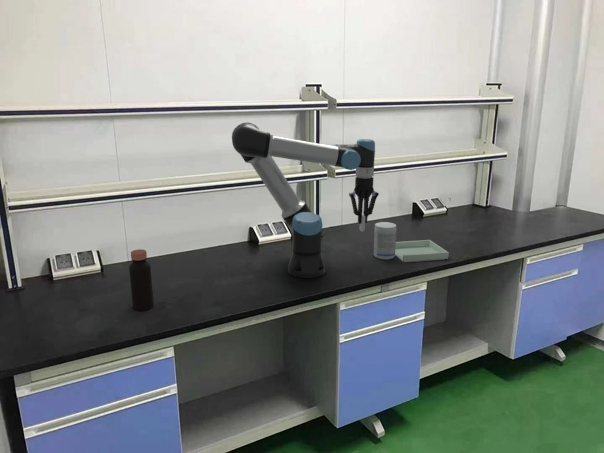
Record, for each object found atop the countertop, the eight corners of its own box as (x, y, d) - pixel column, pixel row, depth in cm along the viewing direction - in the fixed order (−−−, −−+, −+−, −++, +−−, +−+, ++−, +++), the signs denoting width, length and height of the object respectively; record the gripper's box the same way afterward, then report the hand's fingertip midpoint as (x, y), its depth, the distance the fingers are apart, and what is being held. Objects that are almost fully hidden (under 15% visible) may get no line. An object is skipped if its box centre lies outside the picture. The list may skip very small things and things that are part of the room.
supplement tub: (399, 257, 217) (401, 225, 213) (383, 261, 212) (385, 229, 208) (384, 251, 225) (386, 220, 221) (368, 255, 220) (370, 223, 216)
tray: (403, 262, 211) (404, 255, 210) (387, 248, 228) (388, 242, 227) (448, 259, 216) (448, 252, 215) (429, 246, 233) (429, 239, 232)
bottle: (151, 311, 164) (146, 255, 158) (130, 311, 164) (125, 255, 158) (155, 302, 171) (151, 248, 165) (135, 302, 170) (130, 248, 164)
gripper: (352, 178, 201) (350, 233, 208) (382, 177, 204) (379, 232, 210) (346, 175, 208) (345, 228, 215) (375, 174, 211) (373, 227, 217)
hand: (362, 230), depth 213 cm, fingers closed
